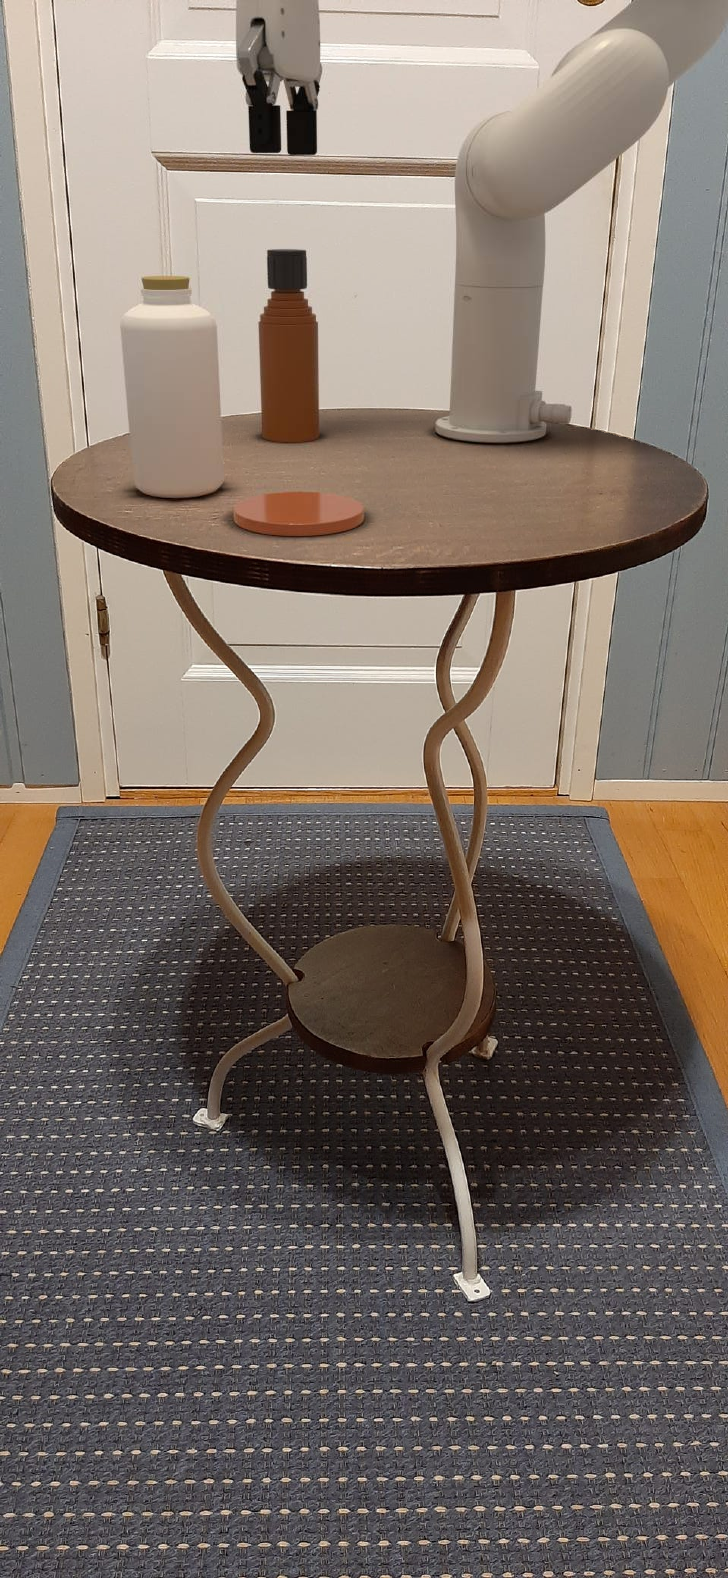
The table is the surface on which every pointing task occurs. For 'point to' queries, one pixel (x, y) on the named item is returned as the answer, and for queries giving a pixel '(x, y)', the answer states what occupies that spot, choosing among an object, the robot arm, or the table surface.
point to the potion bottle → (172, 391)
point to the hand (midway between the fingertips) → (284, 152)
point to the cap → (287, 269)
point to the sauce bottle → (289, 368)
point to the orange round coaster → (298, 513)
